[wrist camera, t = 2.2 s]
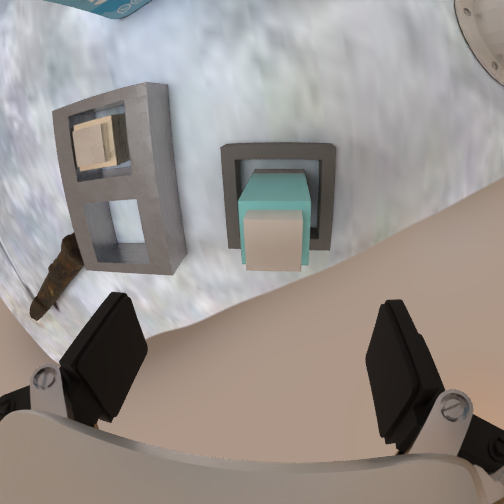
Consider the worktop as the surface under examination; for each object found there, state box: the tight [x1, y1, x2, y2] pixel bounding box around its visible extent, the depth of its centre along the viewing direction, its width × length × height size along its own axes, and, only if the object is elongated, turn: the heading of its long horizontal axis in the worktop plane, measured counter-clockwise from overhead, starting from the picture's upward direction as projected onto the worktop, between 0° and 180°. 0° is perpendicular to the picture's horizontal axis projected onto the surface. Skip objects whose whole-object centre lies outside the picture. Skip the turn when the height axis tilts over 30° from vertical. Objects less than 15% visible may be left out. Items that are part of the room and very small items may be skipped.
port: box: [52, 82, 187, 275], centre depth 22 cm, size 10×16×5 cm, turn 3°
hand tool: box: [30, 232, 84, 321], centre depth 30 cm, size 19×4×5 cm, turn 128°
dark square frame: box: [220, 142, 336, 250], centre depth 23 cm, size 8×8×2 cm
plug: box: [238, 169, 311, 271], centre depth 20 cm, size 4×4×10 cm
